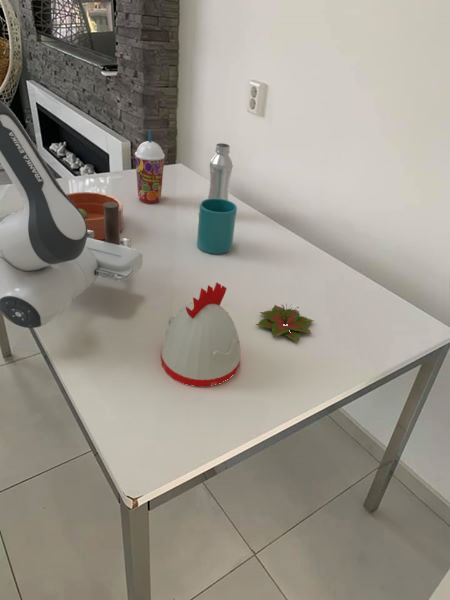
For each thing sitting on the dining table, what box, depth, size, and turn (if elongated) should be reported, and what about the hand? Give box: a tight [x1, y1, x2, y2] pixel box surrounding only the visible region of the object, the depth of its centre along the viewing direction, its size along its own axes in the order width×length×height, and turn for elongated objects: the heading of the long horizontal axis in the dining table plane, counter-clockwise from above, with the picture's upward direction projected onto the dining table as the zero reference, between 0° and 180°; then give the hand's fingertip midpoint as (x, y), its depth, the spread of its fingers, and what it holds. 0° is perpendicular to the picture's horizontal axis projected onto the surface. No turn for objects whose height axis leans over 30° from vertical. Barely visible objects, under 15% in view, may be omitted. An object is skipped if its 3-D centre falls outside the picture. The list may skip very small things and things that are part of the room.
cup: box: [196, 198, 238, 255], centre depth 113 cm, size 9×12×11 cm
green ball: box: [79, 209, 88, 219], centre depth 116 cm, size 4×4×4 cm
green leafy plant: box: [255, 303, 314, 344], centre depth 89 cm, size 12×12×5 cm
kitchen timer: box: [160, 282, 241, 387], centre depth 76 cm, size 14×14×15 cm
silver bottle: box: [207, 142, 234, 201], centre depth 126 cm, size 6×7×20 cm
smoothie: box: [134, 130, 166, 204], centre depth 130 cm, size 8×8×20 cm
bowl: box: [65, 191, 124, 241], centre depth 116 cm, size 18×18×6 cm
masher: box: [103, 202, 121, 245], centre depth 96 cm, size 5×5×16 cm
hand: (109, 237), depth 95 cm, fingers open, 7 cm apart
